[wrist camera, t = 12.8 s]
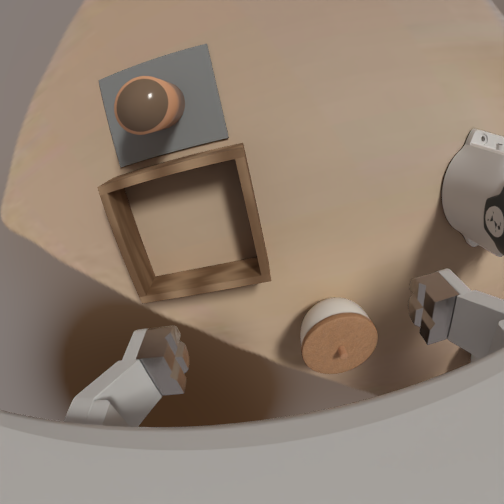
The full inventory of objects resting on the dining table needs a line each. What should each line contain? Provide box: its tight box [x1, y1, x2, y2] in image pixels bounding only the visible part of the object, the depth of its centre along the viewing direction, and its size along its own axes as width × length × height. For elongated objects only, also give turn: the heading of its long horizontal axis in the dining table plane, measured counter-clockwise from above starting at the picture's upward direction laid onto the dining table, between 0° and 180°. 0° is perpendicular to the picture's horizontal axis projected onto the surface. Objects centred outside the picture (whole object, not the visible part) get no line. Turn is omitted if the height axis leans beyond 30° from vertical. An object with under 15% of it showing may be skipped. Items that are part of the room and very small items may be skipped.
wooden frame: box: [97, 143, 271, 303], centre depth 37 cm, size 17×16×5 cm
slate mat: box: [99, 44, 229, 167], centre depth 33 cm, size 14×12×1 cm
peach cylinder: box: [114, 76, 185, 135], centre depth 29 cm, size 6×6×7 cm
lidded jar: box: [300, 297, 378, 374], centre depth 42 cm, size 11×11×9 cm
